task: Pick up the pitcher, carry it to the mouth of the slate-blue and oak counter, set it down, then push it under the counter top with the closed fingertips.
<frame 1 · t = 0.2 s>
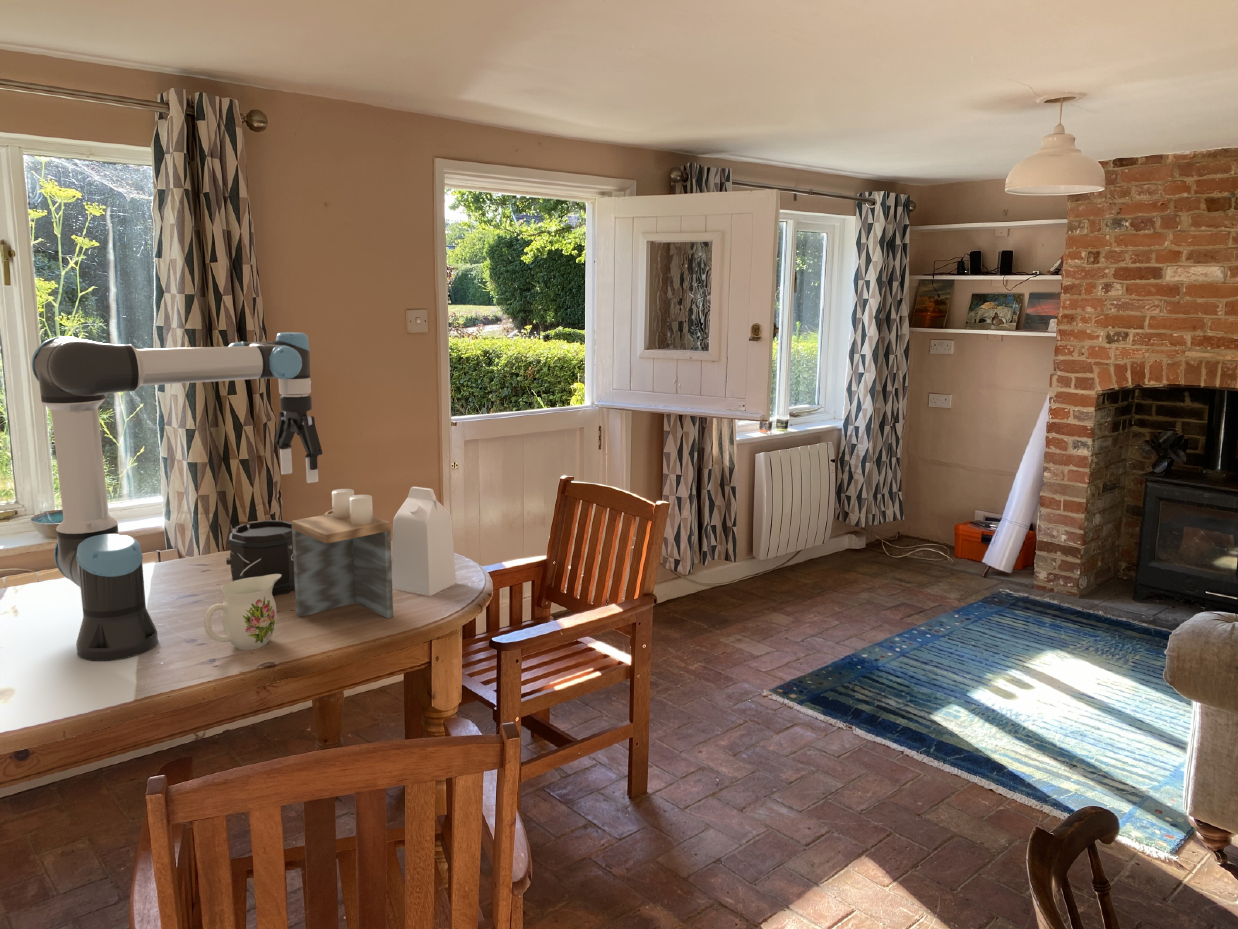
hand: (299, 478, 231), 28 cm above the table, tool pointing down, fingers open, 13 cm apart
white ceramic cup: (361, 522, 209), point 23 cm above the table, touching counter
white ceramic cylinder: (343, 516, 214), point 23 cm above the table, touching counter
pitcher: (247, 646, 196), on the table
counter: (344, 616, 214), on the table
black octagonal canister: (266, 588, 233), on the table
milk: (424, 586, 236), on the table
stone cup: (351, 560, 257), on the table
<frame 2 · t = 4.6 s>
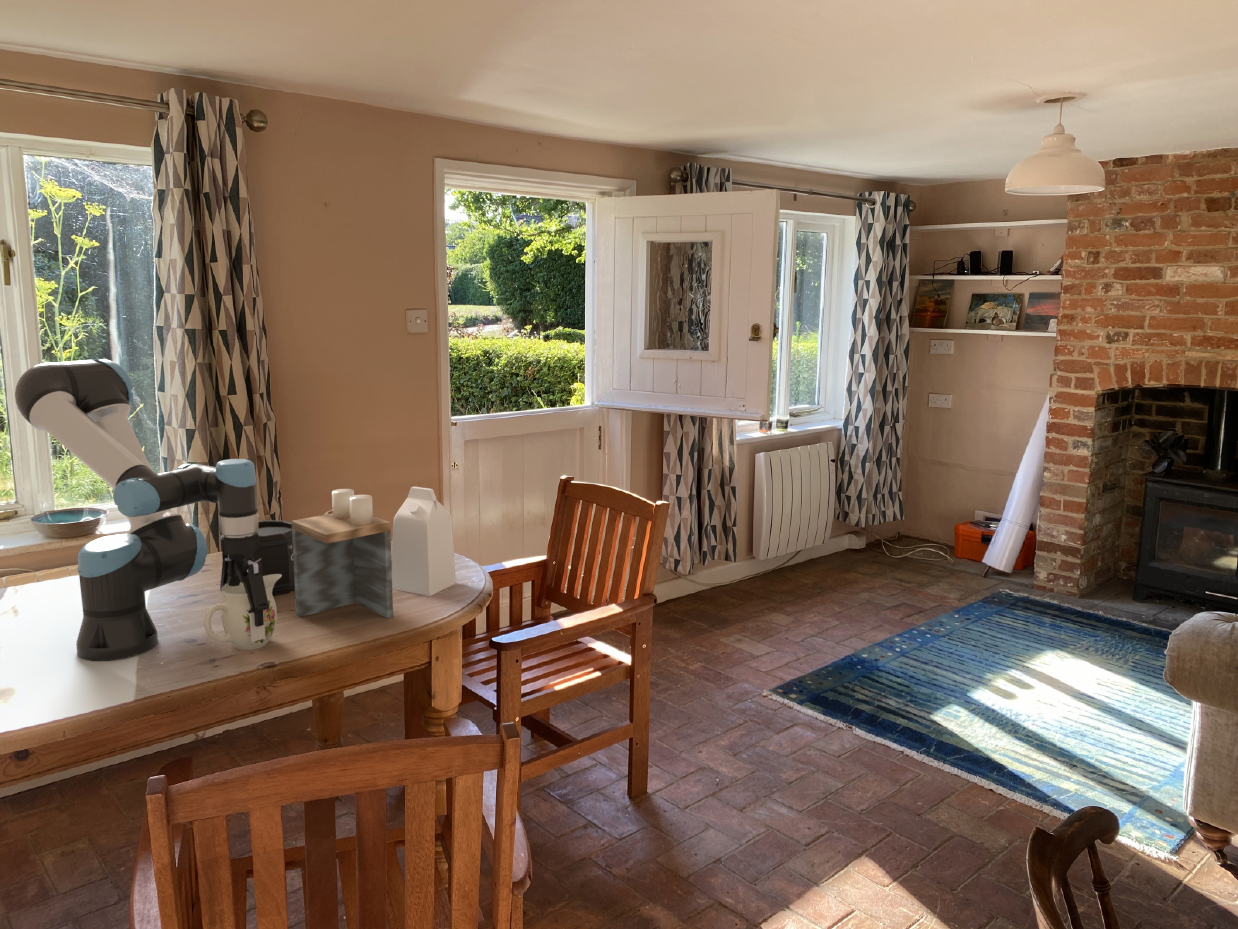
hand: (246, 632, 195), 3 cm above the table, tool pointing down, fingers closed on pitcher, 11 cm apart
pitcher: (247, 646, 196), on the table, touching gripper
everything else where it was.
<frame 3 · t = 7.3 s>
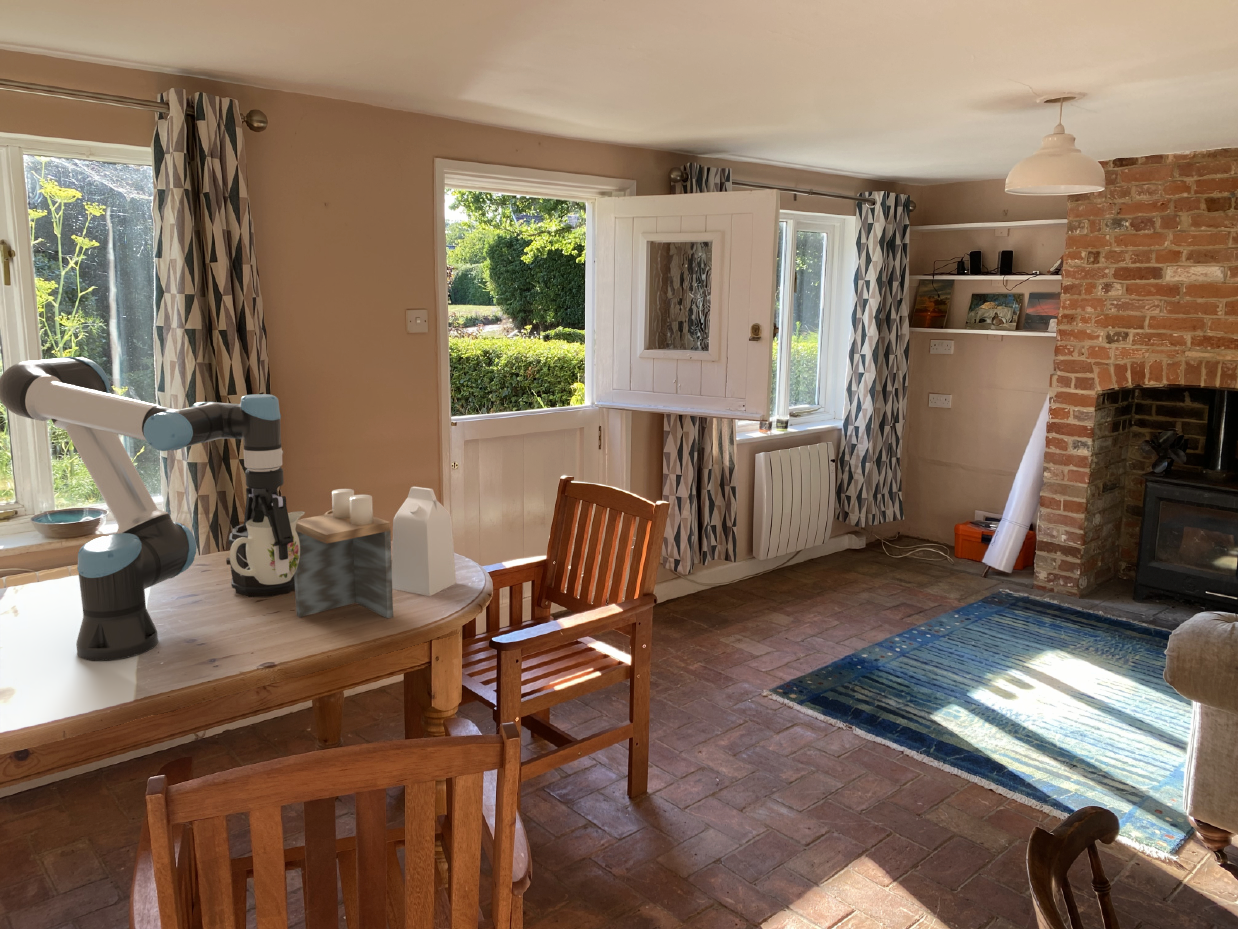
hand: (270, 567, 197), 16 cm above the table, tool pointing down, fingers closed on pitcher, 11 cm apart
pitcher: (271, 581, 197), point 13 cm above the table, touching gripper
everything else where it was.
when the fingers open (4 cm above the table, at t = 9.9 s): pitcher drops 1 cm, on the table.
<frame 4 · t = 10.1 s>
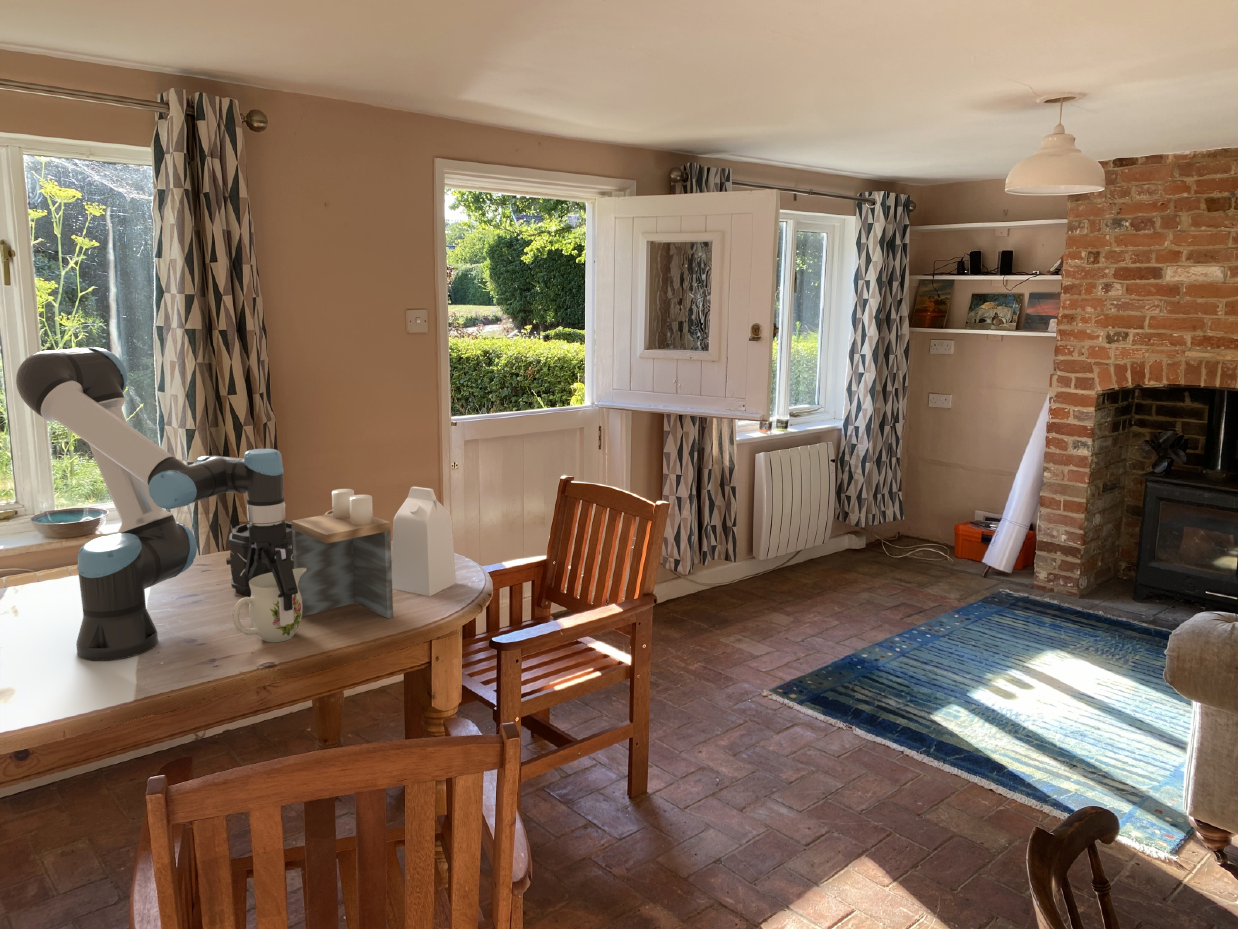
hand: (272, 615, 199), 5 cm above the table, tool pointing down, fingers open, 13 cm apart
pitcher: (274, 638, 200), on the table
everything else where it was.
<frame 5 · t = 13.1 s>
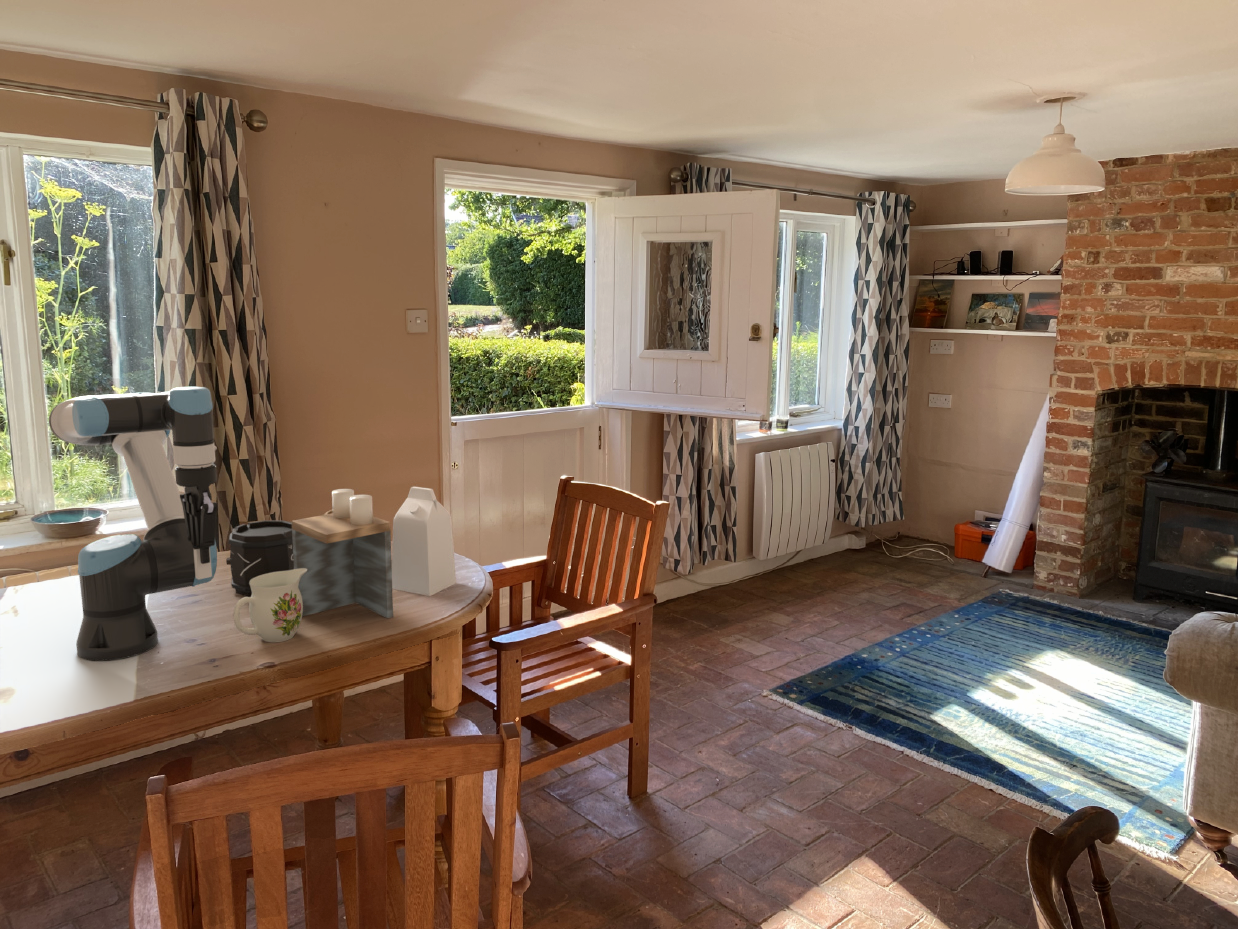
hand: (203, 577, 187), 17 cm above the table, tool pointing down, fingers closed
nothing on the table moved.
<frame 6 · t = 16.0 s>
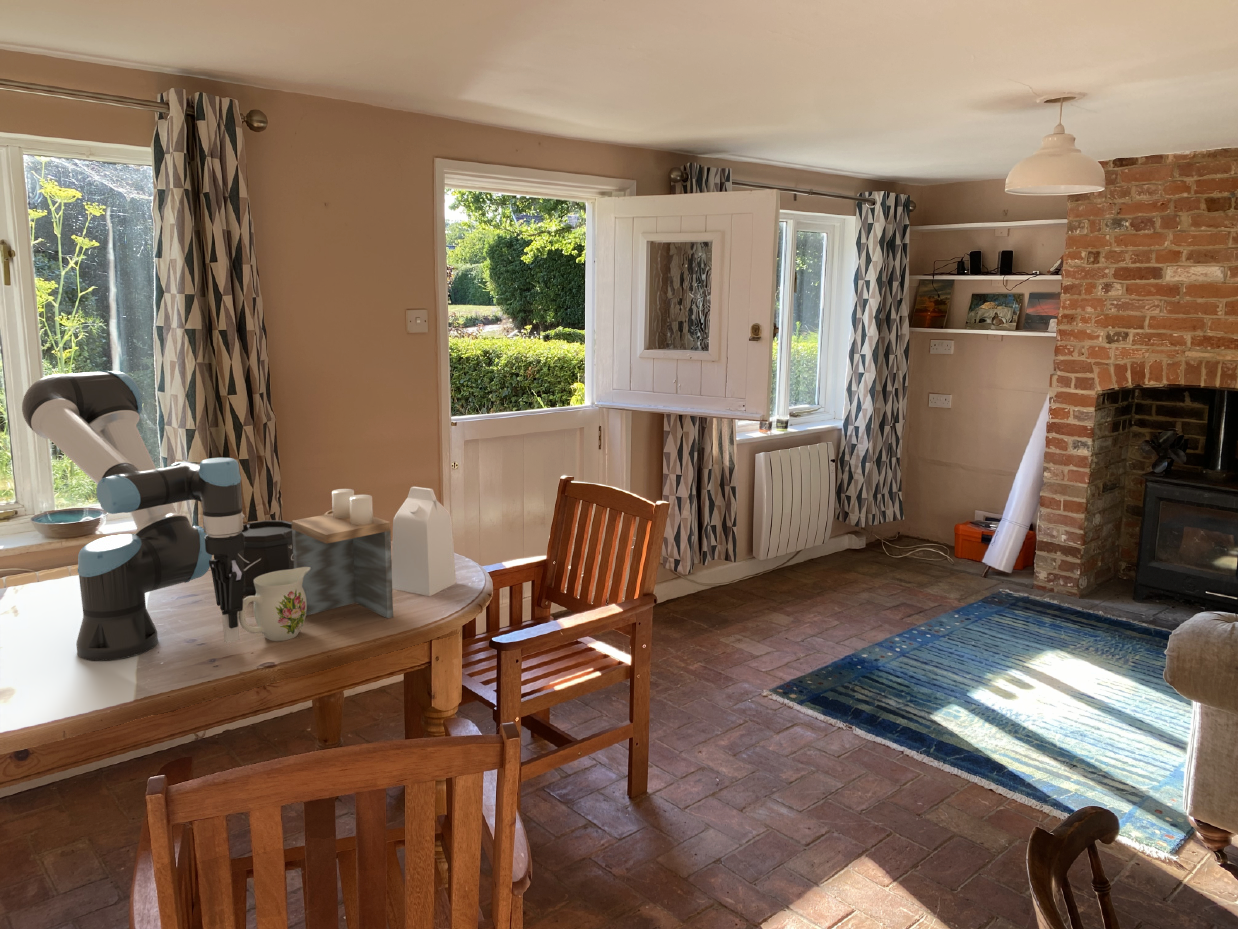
hand: (231, 640, 193), 2 cm above the table, tool pointing down, fingers closed
pitcher: (278, 637, 201), on the table, touching gripper
everything else where it was.
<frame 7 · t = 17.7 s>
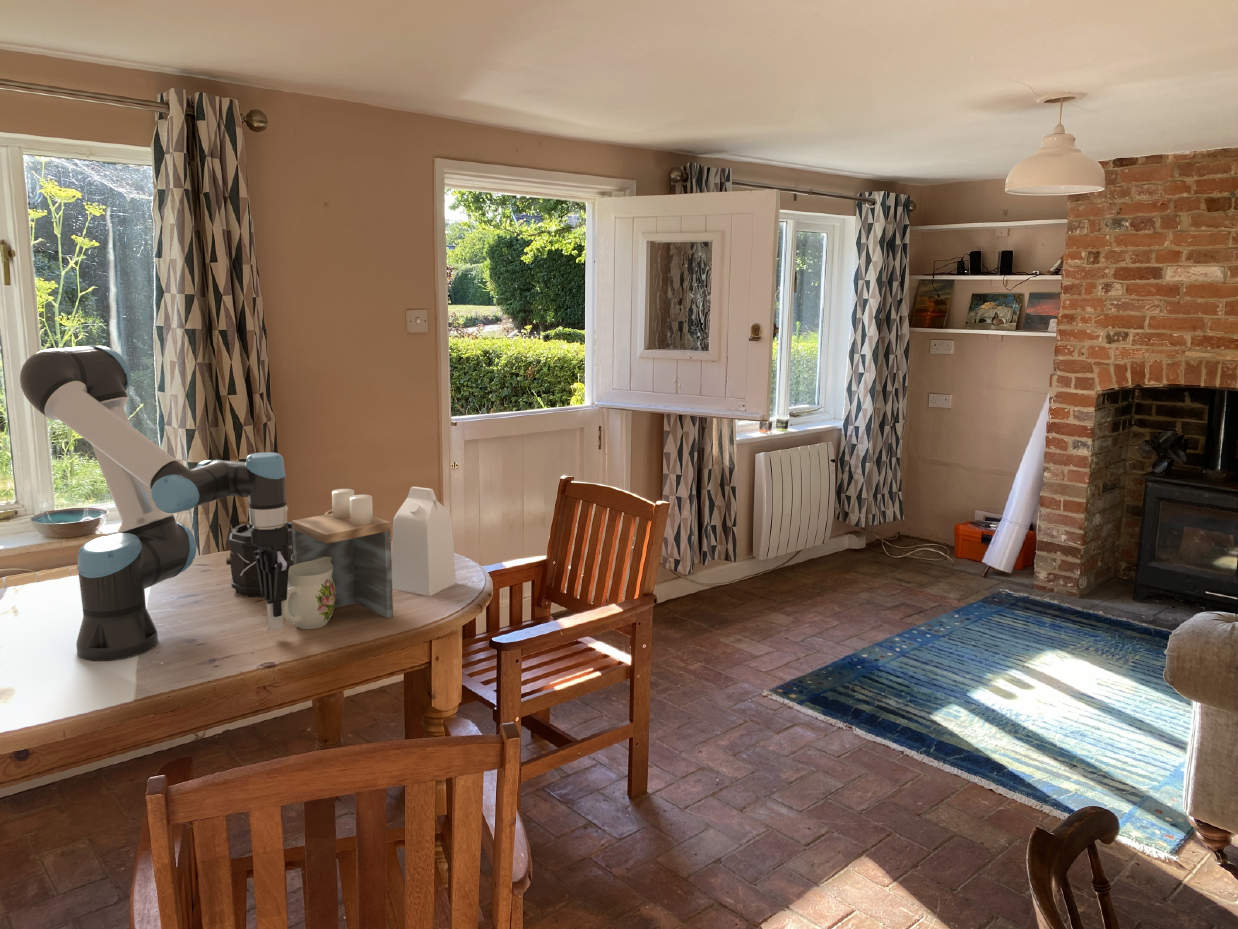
hand: (275, 629, 200), 2 cm above the table, tool pointing down, fingers closed
pitcher: (309, 626, 208), on the table
everything else where it was.
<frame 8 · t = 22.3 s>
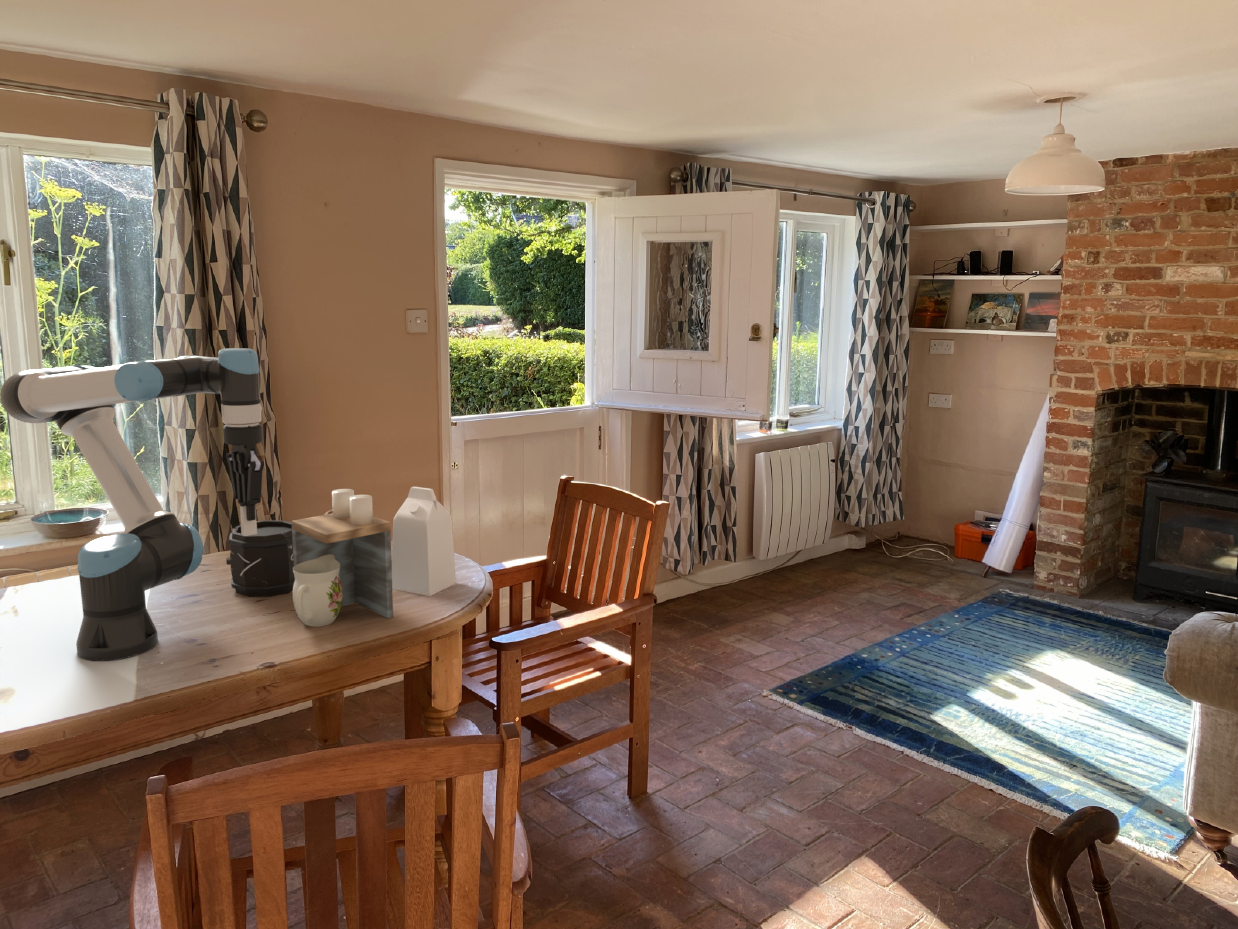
hand: (249, 534, 192), 24 cm above the table, tool pointing down, fingers closed
pitcher: (317, 623, 209), on the table
everything else where it was.
at the end: pitcher inside the target area (6.1 cm from its centre), on the table; pitcher tilted 0°; the gripper is holding nothing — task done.
